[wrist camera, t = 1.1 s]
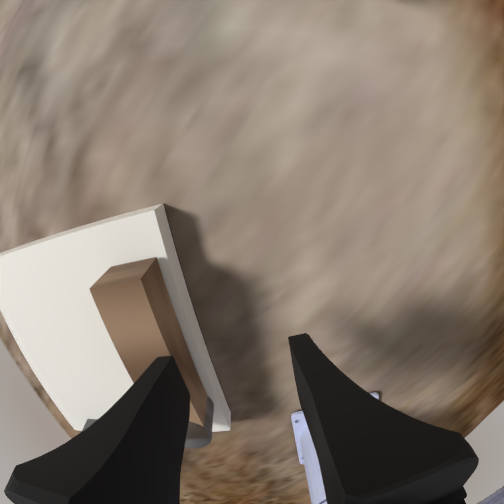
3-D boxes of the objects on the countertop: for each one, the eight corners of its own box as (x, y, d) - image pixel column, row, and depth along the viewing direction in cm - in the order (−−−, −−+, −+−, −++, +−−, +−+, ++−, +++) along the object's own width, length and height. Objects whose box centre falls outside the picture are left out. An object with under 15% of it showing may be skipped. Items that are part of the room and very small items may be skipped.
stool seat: (230, 412, 23) (230, 453, 19) (81, 416, 24) (66, 447, 20) (163, 203, 18) (139, 220, 13) (-4, 254, 18) (-38, 275, 14)
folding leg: (219, 416, 20) (217, 447, 18) (177, 419, 21) (172, 449, 18) (160, 256, 16) (144, 278, 13) (108, 267, 16) (86, 289, 13)
